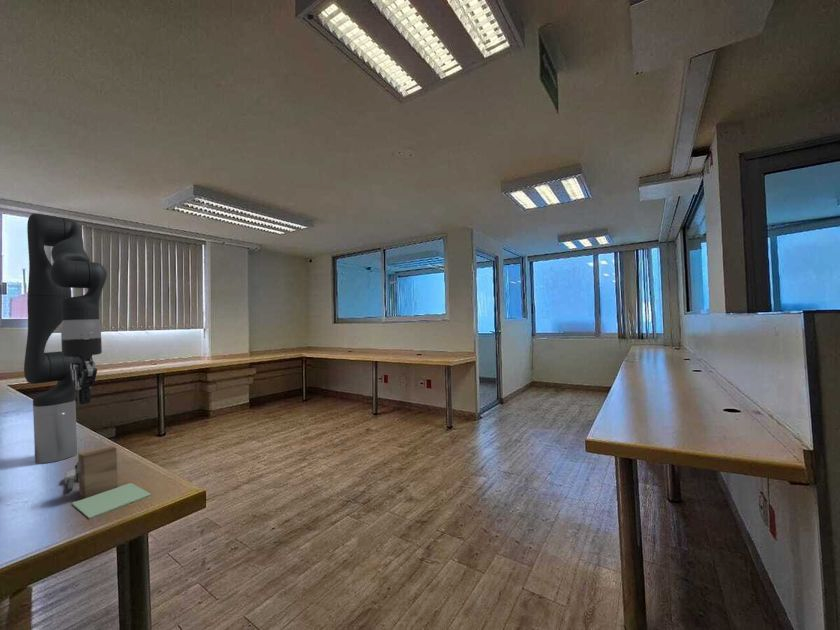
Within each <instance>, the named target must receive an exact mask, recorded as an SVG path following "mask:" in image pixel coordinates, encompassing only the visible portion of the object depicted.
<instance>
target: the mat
mask: <svg viewBox="0 0 840 630" xmlns="http://www.w3.org/2000/svg"><path fill="white" fill-rule="evenodd" d="M151 496H152V494H151V493H150V492H148V491H146V490H145V489H143V488H141V487H140V486H137V485H136V484H134V483H132V482H130V483H127V484H123V485H120V486H118V487H117V488H114V489H112V490H109V491H106V492H103V493H100V494H97V495H94V496H91V497H88V498H82V499H79V500H77V501H73V502H72V503H71V504H72V506H74V508H76V509H77V510H78V511H79V512H80V513H82V514H83V515H84V516H85V517H86V518H88V519H93V518H96V517H99V516H101V515H103V514H107V513H108V512H112V511H114V510H116V509H119V508H122V507H125V506H127V505H129V504H132V503H135V502H138V501H140V500H143V499H145V498H149V497H151Z"/></svg>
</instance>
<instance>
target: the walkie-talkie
mask: <svg viewBox="0 0 840 630" xmlns="http://www.w3.org/2000/svg"><path fill="white" fill-rule="evenodd" d="M73 482H74V483H79V462H78V461H77V462H76V464H75V465H74V468H73V469H71V470H69V471H67V472H66V473H65V476H64V485H67V486H66V491H67V492H72V491H73V489H74V483H73Z"/></svg>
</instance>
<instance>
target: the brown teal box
mask: <svg viewBox="0 0 840 630" xmlns="http://www.w3.org/2000/svg"><path fill="white" fill-rule="evenodd" d="M117 455H118V454H117V447H115V446H113V445H110V444H109V445H104V446H100V447H96V448H92V449H88V450H85V451H81V452H77V458H78V461H77V462H79V482H78V486H79V488H78V489H79V495H80V496H81V495H82V496H81V497H83V499H85V498H88V497H91V496H94V495H97V494H100V493H103V492H106V491H109V490H112V489H114V488H117V487H119V485H118V459H117V458H118V457H117Z"/></svg>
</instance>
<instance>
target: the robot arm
mask: <svg viewBox="0 0 840 630" xmlns="http://www.w3.org/2000/svg"><path fill="white" fill-rule="evenodd" d="M26 231H27V232H26V233H27V249H28V250H27V251H28V264H29V265H28V268H29V269H28V286H27V305H26V306H27V337H26V345H25V346H26V347H25V354H24V362H23V363H24V364H23V374H24V379H25V380H26V382H27V383H28V384H32V385H34V384H35V385H36V384H37V385H38V384H43V383H51V382H57V383H56V384H55V385H54V386H53V387H51V388H50V389H48V390H46V391H44V392H41V393H38V394H37V395H35V396H34V397H33V399H32V411H33V414H32V415H33V439H34V441H33V442H34V463H35V464H46V463H47V464H48V463H53V462H59V461H62V460H65V459H67V458H72V457H73V456H76V455H78V438H77V437H78V436H77V435H78V434H77V431H78V430H77V409H76V408H77V405H76V396H77V404H79V405H84V404H85V405H86V404H89V403H91V400H92V399H91V389H92V387H94V386H95V381H96V378H97V374H98V368H97V367H96V362H95V361H94V360H93V356H97V355H101V354H102V351H103V349H102V347H103V346H102V327H101V324H100V323H101V321H100V299H101V296H102V292H103V289H104V286H105V283H106V281H107V277H108V275H107V274H108V273H107V270H106V268H105V267H104V265H102V264H101V263H99V262H94V261H91V260H90V258H89V255H88V254H87V252H86V251H85V247H84V241H83V240H84V239H83V234H82V230H81V227H80V224H79V223H78V222H77V221H76V220H74V219H71V218H67V217H62V216H61V217H60V216H54V215H49V214H42V213H31V214H30V215H29V217H28V219H27V228H26ZM46 246H47V247H52V248H51V251H50V252H51V258H52V260H53V263H51V262H50V260H49V258H48V257H47V253H46V250H45V247H46ZM71 289H87V292H86V293H85V294H82V295H78V296H77V295H76V296H72V290H71ZM60 325H61V327H60V337H61V339H60V340H61V351H50V352H49V351H48V352H45V349H46V346H47V343H48V340H49V339H50V337H51V335H52V334H53V333H54V332H55V330H56V329H58V327H59V326H60Z"/></svg>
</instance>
